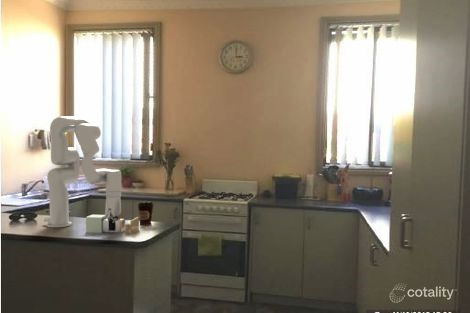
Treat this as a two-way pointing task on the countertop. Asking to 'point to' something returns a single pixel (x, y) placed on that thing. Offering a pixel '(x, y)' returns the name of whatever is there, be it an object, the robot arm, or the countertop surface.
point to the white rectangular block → (118, 225)
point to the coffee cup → (145, 212)
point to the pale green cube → (94, 223)
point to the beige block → (132, 226)
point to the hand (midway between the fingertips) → (113, 229)
